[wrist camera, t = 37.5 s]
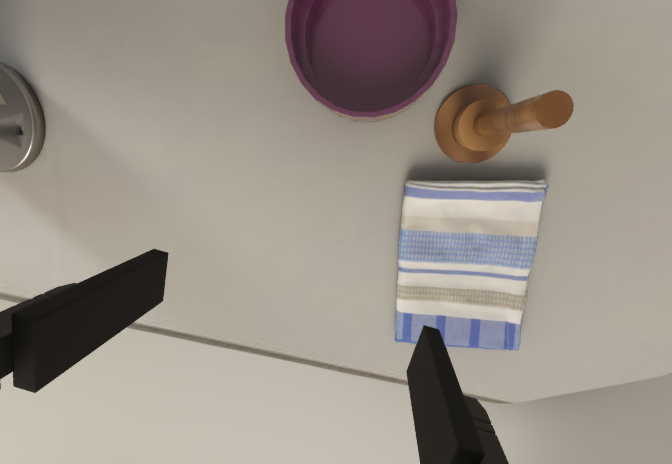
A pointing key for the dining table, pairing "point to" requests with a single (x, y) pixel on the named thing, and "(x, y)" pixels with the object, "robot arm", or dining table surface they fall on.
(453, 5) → the bowl
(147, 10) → the dining table surface
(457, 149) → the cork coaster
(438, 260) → the dish towel
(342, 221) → the dining table surface
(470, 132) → the dish brush
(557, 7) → the dining table surface
